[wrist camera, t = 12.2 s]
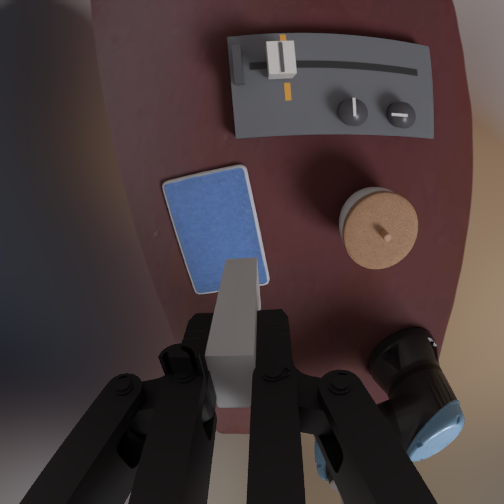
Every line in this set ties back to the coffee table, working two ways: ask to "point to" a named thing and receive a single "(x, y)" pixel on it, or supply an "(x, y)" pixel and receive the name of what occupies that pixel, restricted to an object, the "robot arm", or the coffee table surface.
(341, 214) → the lidded jar
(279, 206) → the coffee table surface
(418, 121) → the console
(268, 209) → the coffee table surface
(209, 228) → the tablet computer
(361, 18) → the coffee table surface
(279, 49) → the fader tab
